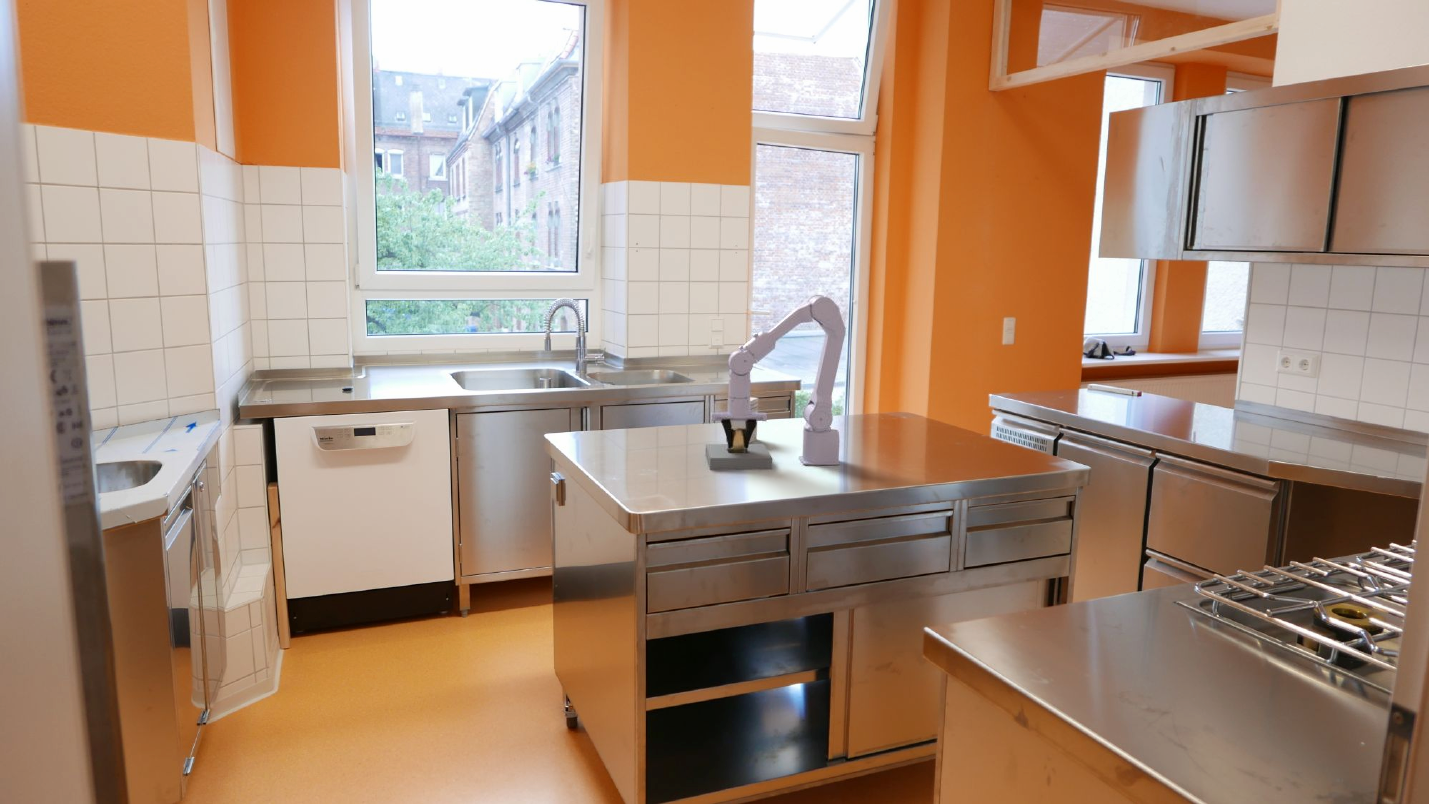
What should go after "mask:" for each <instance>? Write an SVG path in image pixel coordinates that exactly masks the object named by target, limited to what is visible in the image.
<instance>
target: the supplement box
mask: <svg viewBox="0 0 1429 804" xmlns="http://www.w3.org/2000/svg"><path fill="white" fill-rule="evenodd" d="M726 403H727V404H726V405H727V406H726V412H728V399H727V402H726ZM750 412H757V413H759V398H758V397H751V396H750ZM756 422H757V423H758V421H756ZM731 425H732V427H731V428H734V427H741V428H746V427H745V421H731ZM757 435H758V424H757V425H756V427H755V429H754V431H753V433H752V436H751V438H750V442H749V444H752V443H753V442H754V441H756V440H757V437H758V436H757ZM725 441H726V442H727V437H726V436H725Z"/></svg>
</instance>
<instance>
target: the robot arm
mask: <svg viewBox="0 0 1429 804" xmlns="http://www.w3.org/2000/svg"><path fill="white" fill-rule="evenodd" d="M814 321H816V322H817V323H818V325H819V326H820V327H821V329H822V330H823V331H824V334H825V335H824V339H823V345H822V347H821V348H822V349H821V353H820V357H819V363H818V367H817V371H816V376H815V381H814V386H813V389H812V392H811V393H810V396H809V400H808V401H807V404H806V405H804V407H803V410H802V415H803V419H804V420H805V421H806V423H805V424H804V425H803V433H802V434H803V435H802V455H799V456H798V459H799V460H800V461H801V463H802V464H803V465H807V466H808V465H809V466H811V465H813V466H814V465H815V466H818V465H819V466H824V465H825V466H828V465H829V466H832V465H835V466H836V465H840V461H839V460H840V459H839V457H840V432H839V430H838V429H836V428H835V429H834V428H833V429H832V427H831V426H832V424H833V420H834V419H833V417H834V416H833V413H832V409H833V400H832V399H833V397H832V395H833V391H834V388H835V387H834V386H835V381H836V379H837V377H836V376H837V373H838V368H839V365H840V364H839V363H840V359H841V355H842V349H843V347H844V346H843V345H844V341H845V336H846V329H847V328H846V325H845V323H844V320H843V317H842V314H841V312H840V307H839V306H838V304H836V302H835V301H834V300H833V299H832V298H830V297H828V296H824V295H820V294H814V295H812V296H810V297H808V299H807V300H805V301H803V302H801V303H800V304H799V305H797V306H796V307H794V309H792V311H790V312H789V313H788V314H787V315H785V316H784V318H782V319H781V320H780V321H779V322H778V323H777V324H775V326H773V327H772V328H771V329H770V330H768V331H760V332H754V334H753V335H752V338H751V339H750V340H748V342H746V343H745V344H744V345H740V346H738V349H739V350H735V351H734V352H732V353H731V354H730V355H729V357H728V360H727V366H728V368H729V373H728V375H729V378H728V398H727V400H728V412H727V411H721V412H720V411H719V412H711V413H710V421H711V422H716V421H717V422H718V421H720V422H721V425H722V429H723V430H724V433H725V438H726V437H727V441H726V444H728V448H731V427H732V425H731V421H745V427H746V443H745V448H748V446H749V444H750V443H749V442H750V438H751V436H752V433H753V431H754V429H755V427H756V425H757V426H758V422H761V421H762V422H767V419H768V418H767V415H768V414H767V413H766V412H758V413H757V412H750V397H751V371H752V370H753V366H754V364H758V362H760V361H761V360H763V359H764V358H765V357H766V356H768V355H769V354H770V353H771V352H773V351H774V350H775V348H776V343H777V341H779V340H780V339H781V338H782V337H784V336H785V335H786V334H788V333H789V332H791V331H792V330H793V329H795V328H796V327H797V326H798V325H800V324H803V323H812V322H814ZM756 421H757V422H756Z"/></svg>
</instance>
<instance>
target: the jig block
mask: <svg viewBox="0 0 1429 804" xmlns="http://www.w3.org/2000/svg"><path fill="white" fill-rule="evenodd" d="M704 456H705V458H706V461H707V464H708V467H709V470H716V471H717V470H719V471H720V470H722V471H723V470H724V471H725V470H731V471H732V470H735V471H737V470H773V457H772V455H771V453H770V451H769V450H768V448H767V447H766V445H765V444H763V443H749V446H748V448H745V453H730V448H728V443H723V444H722V443H706V444H705V455H704Z"/></svg>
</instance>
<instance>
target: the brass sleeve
mask: <svg viewBox="0 0 1429 804" xmlns="http://www.w3.org/2000/svg"><path fill="white" fill-rule="evenodd" d="M745 443H746V428H741V427H734V428H731V448H730V453H745Z"/></svg>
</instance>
